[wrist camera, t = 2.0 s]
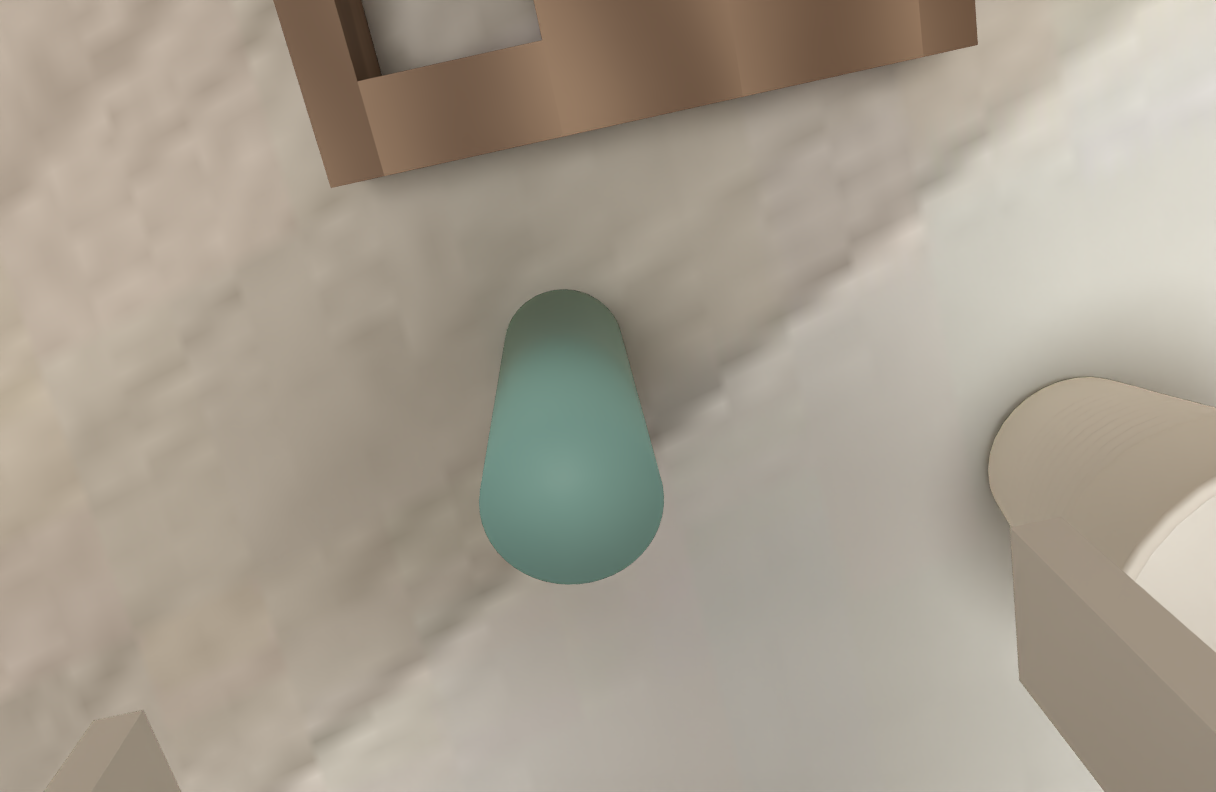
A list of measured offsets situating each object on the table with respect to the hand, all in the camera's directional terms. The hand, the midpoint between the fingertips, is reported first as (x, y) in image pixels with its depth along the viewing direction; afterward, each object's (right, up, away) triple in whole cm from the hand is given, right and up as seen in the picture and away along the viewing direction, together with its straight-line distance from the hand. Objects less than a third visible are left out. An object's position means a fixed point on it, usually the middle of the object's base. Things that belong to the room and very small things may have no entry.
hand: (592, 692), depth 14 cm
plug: (-1, +6, +17) cm, 19 cm away
